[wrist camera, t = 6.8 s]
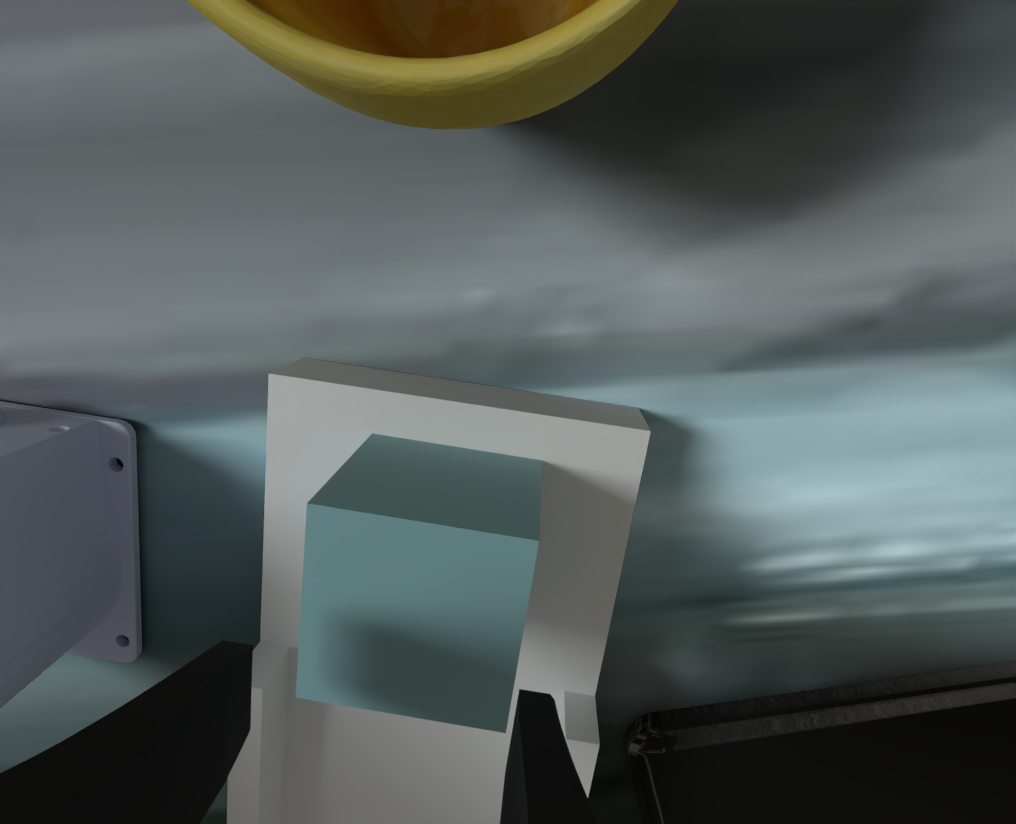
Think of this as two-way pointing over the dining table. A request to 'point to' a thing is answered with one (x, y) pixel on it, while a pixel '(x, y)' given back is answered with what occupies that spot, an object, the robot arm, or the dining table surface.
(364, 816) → the grey channel
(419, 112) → the plant pot
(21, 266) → the dining table surface
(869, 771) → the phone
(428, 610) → the teal block
